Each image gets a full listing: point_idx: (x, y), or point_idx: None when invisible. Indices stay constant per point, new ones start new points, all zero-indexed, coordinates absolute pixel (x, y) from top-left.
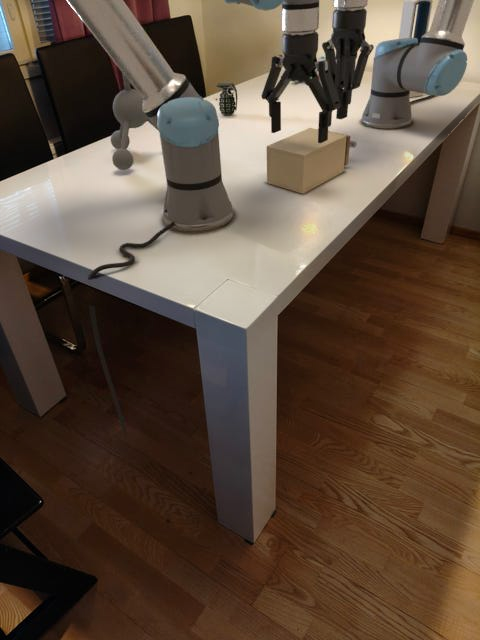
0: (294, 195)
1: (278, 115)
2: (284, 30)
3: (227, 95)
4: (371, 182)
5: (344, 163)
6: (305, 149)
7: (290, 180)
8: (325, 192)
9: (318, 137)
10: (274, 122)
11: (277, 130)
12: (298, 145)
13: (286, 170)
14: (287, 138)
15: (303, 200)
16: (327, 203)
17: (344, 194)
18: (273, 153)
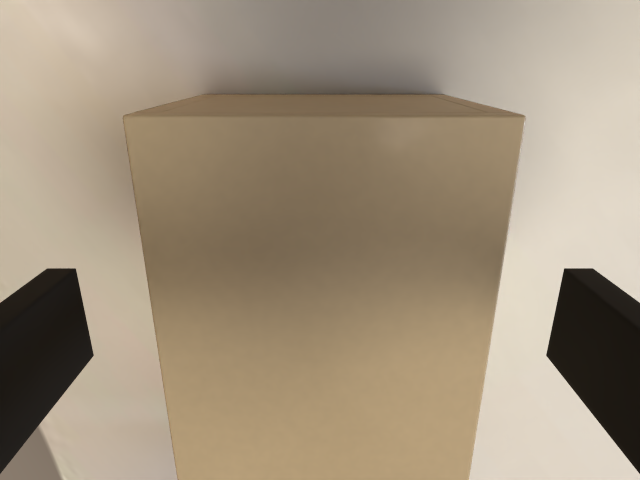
0: (225, 53)
1: (637, 424)
2: None
3: None
4: None
5: None
6: (208, 229)
7: (280, 98)
8: None
9: (46, 289)
10: (617, 327)
11: (559, 319)
12: (309, 268)
13: (307, 101)
14: (471, 339)
15: (147, 30)
16: (38, 76)
17: (59, 210)
18: (436, 111)
